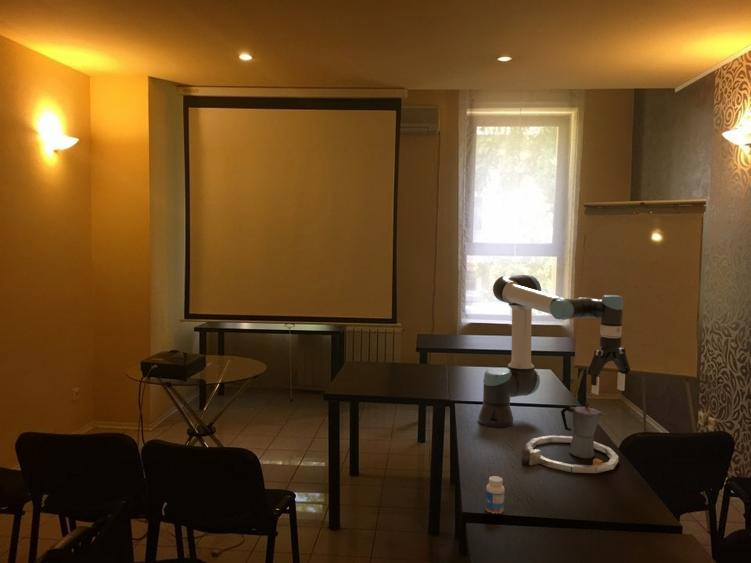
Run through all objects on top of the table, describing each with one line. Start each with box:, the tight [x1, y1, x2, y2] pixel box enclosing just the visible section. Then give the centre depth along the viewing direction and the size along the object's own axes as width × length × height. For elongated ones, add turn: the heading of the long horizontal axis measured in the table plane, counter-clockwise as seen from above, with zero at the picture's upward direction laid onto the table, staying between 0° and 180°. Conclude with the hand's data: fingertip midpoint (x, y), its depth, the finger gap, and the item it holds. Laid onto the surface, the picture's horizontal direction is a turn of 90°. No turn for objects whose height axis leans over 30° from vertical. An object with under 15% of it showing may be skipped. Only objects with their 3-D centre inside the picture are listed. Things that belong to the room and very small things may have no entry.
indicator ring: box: [521, 435, 619, 474], centre depth 220 cm, size 32×39×5 cm
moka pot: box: [560, 402, 605, 459], centre depth 223 cm, size 10×15×20 cm, turn 78°
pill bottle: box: [485, 475, 505, 514], centre depth 177 cm, size 6×5×10 cm
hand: (607, 391), depth 224 cm, fingers open, 13 cm apart
